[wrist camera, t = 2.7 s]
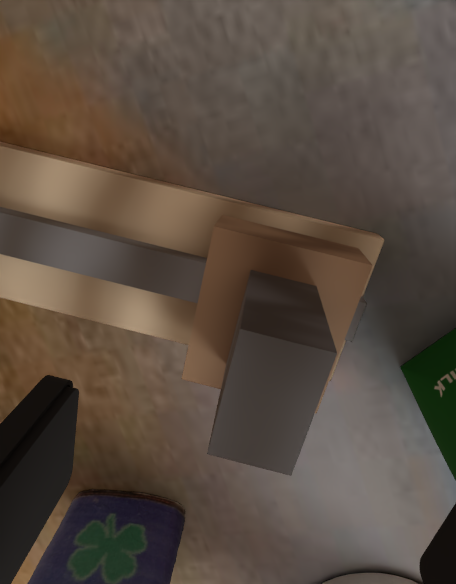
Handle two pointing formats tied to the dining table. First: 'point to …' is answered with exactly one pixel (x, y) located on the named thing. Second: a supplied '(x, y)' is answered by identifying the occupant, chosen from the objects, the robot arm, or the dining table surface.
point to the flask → (113, 540)
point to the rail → (124, 242)
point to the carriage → (270, 335)
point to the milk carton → (437, 392)
